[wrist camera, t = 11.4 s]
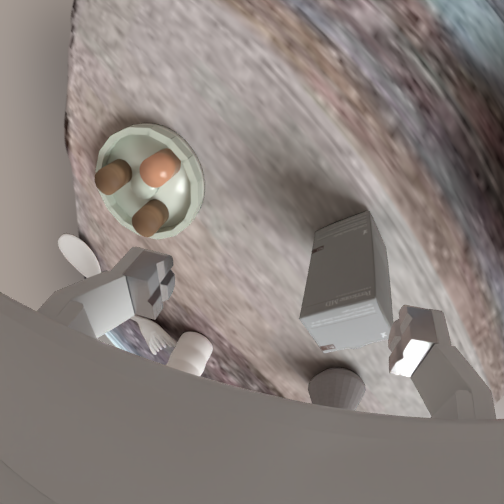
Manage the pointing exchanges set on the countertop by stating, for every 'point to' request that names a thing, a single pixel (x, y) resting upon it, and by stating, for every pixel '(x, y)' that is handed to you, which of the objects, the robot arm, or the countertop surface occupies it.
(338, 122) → the countertop surface
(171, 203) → the groove tray
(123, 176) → the seated bead
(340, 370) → the coffee pot
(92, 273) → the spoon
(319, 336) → the skincare box
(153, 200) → the seated bead
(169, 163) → the loose bead
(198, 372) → the milk bottle
